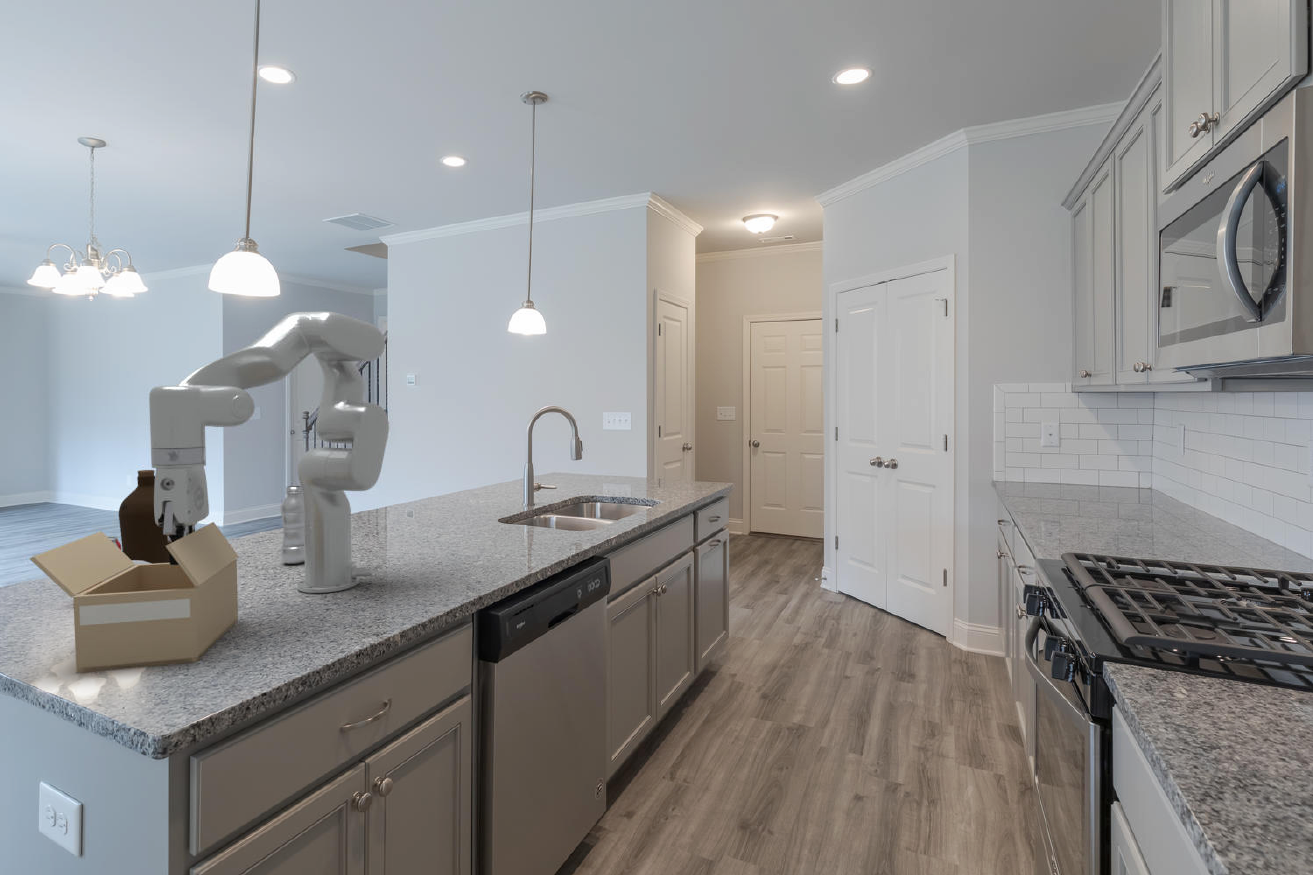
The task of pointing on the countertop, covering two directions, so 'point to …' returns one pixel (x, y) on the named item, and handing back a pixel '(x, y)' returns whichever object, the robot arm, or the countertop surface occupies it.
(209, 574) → the flap
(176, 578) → the carton
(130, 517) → the olive oil
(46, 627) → the countertop surface
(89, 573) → the flap
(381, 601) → the countertop surface
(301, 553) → the plastic bottle
